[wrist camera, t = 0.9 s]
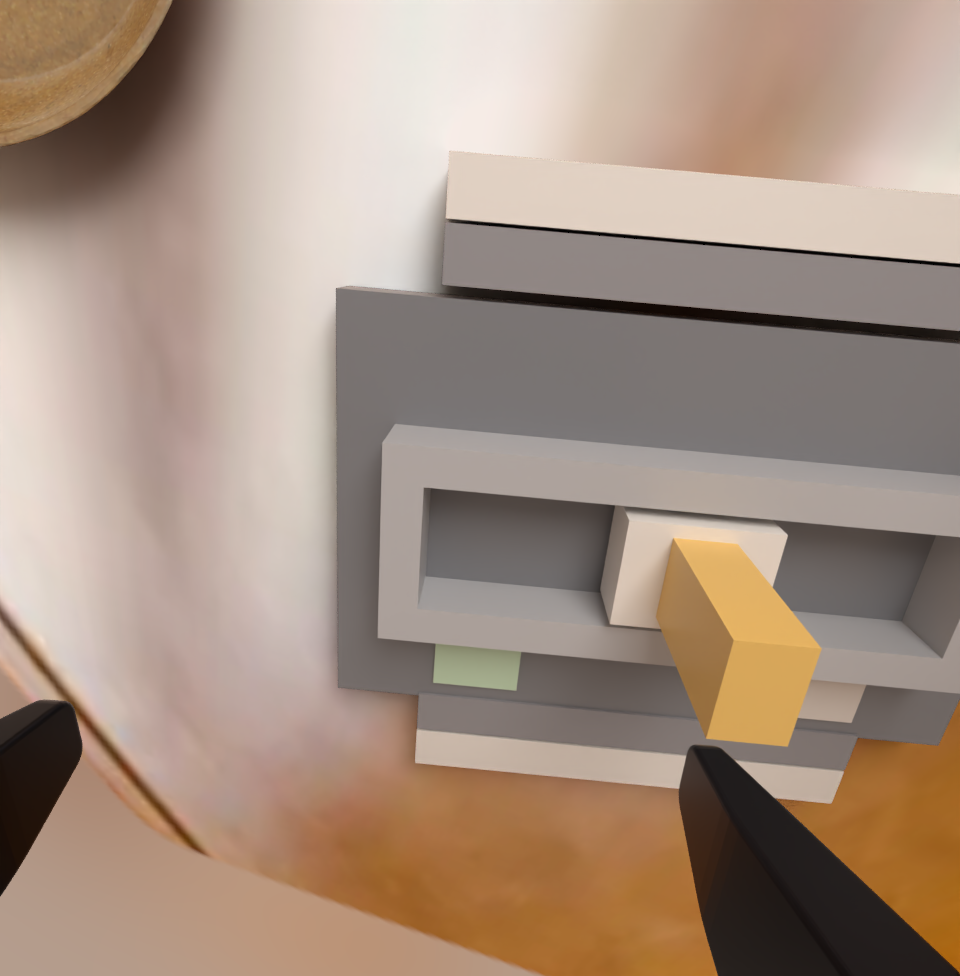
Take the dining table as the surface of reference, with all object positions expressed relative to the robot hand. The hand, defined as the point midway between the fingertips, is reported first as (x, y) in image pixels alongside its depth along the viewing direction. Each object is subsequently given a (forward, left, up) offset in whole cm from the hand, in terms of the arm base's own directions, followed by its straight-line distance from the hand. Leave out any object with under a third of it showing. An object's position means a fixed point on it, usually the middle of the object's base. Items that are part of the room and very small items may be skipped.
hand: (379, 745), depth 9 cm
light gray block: (-7, +10, -12) cm, 18 cm away
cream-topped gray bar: (-7, -8, -12) cm, 16 cm away
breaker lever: (-7, +1, -11) cm, 13 cm away
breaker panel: (-7, +1, -12) cm, 15 cm away
